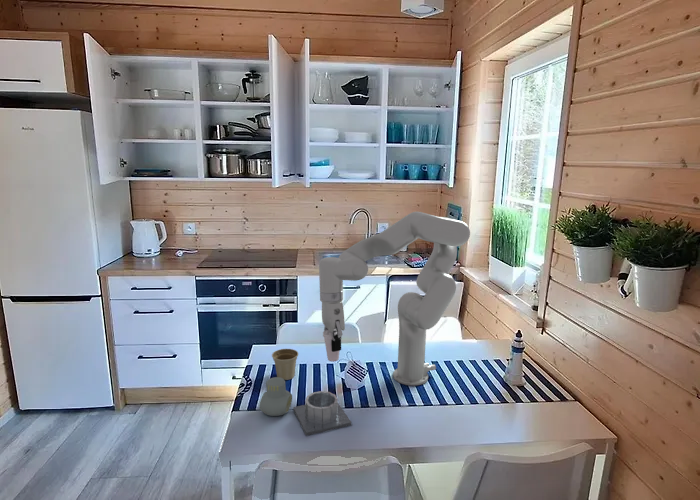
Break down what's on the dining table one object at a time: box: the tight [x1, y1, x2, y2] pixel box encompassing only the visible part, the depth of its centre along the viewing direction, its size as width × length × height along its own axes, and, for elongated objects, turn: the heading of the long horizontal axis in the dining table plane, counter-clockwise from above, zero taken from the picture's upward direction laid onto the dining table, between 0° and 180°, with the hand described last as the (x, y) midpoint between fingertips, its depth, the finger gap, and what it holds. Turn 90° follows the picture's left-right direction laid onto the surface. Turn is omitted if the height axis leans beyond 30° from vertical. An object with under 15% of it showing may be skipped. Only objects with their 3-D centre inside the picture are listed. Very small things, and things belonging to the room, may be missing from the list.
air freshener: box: [259, 376, 293, 417], centre depth 136 cm, size 11×8×10 cm
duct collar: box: [292, 390, 352, 437], centre depth 133 cm, size 14×14×6 cm
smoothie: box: [322, 329, 341, 363], centre depth 145 cm, size 6×6×14 cm
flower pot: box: [271, 348, 299, 381], centre depth 157 cm, size 9×9×9 cm
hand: (332, 346), depth 146 cm, fingers closed on smoothie, 6 cm apart
